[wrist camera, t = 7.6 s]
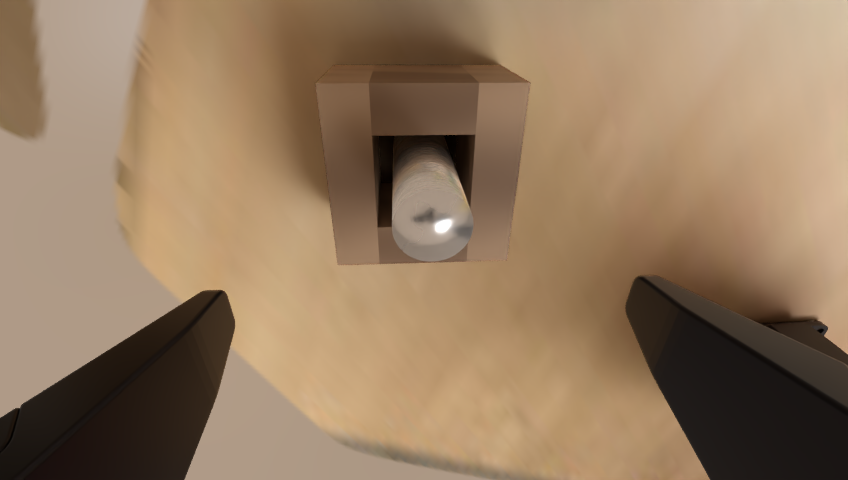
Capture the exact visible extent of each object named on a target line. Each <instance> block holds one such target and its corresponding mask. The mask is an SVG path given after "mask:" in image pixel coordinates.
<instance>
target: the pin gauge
mask: <svg viewBox="0 0 848 480" xmlns="http://www.w3.org/2000/svg"><path fill="white" fill-rule="evenodd" d="M472 232H473V216H472V213H471V210H470V207H469V205H468V202H467V199H466V196H465V194H464V191H463V188H462V185H461V183H460V180H459V177H458V174H457V171H456V169H455V166H454V163H453V160H452V158H451V155H450V152H449V149H448V147H447V144H446V141H445V138H444V135H395V137H394V142H393V193H392V233H393V237H394V240H395V242H396V244H397V245H398V247H399V248H400V249H401V250H402V251H403V252H404V253H406V254H407V255H408V256H410V257H412V258H415V259H417V260H421V261H428V262H434V261H441V260H445V259H448V258H450V257H452V256H454V255H456V254H457V253H458V252H460V251H461V250H462V249H463V248H464V247H465V246H466V244H467V243H468V241H469V240H470V238H471V235H472Z"/></svg>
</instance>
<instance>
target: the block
mask: <svg viewBox="0 0 848 480" xmlns="http://www.w3.org/2000/svg"><path fill="white" fill-rule="evenodd" d="M315 85H316V94H317V102H318V110H319V118H320V126H321V134H322V142H323V150H324V158H325V166H326V174H327V182H328V191H329V199H330V207H331V215H332V223H333V231H334V239H335V247H336V255H337V263H338V265H360V264H395V263H431V262H428V261H421V260H417V259H415V258H412V257H410V256H408V255H407V254H406V253H404V252H403V251H402V250H401V249H400V248H399V247H398V245H397V244H396V242H395V240H394V237H393V233H392V193H393V183H381V173H380V153H379V136H388V135H457V145H456V166H455V169H456V171H457V174H458V177H459V180H460V183H461V185H462V188H463V191H464V194H465V196H466V199H467V202H468V205H469V207H470V210H471V213H472V216H473V232H472V235H471V238H470V240H469V241H468V243H467V244H466V246H465V247H464V248H463V249H462V250H461V251H460V252H458V253H457V254H456V255H454V256H452V257H450V258H448V259H445V260H441V261H434V262H466V261H501V260H507V256H508V249H509V241H510V233H511V226H512V218H513V211H514V203H515V196H516V188H517V180H518V173H519V165H520V158H521V150H522V143H523V135H524V128H525V120H526V112H527V105H528V97H529V90H530V82H528V81H527V80H525V79H523V78H522V77H520V76H518V75H517V74H515V73H513V72H511V71H510V70H508V69H506V68H505V67H503V66H501V65H333V66H332V67H331V68H330V69H329V70H328V71H327V72H326V73H325V74H324V75H323V76H322V77H321V78H320V79H319V80H318V81H317V82H316V83H315Z"/></svg>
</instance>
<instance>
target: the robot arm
mask: <svg viewBox="0 0 848 480" xmlns="http://www.w3.org/2000/svg"><path fill="white" fill-rule="evenodd" d="M626 314H627V317H628V319H629V322H630V324H631V326H632V329H633V331H634V334H635V336H636V338H637V341H638V343H639V345H640V348H641V350H642V352H643V355H644V357H645V360H646V362H647V364H648V366H649V369H650V371H651V373H652V375H653V377H654V379H655V381H656V383H657V384H658V386H659V388H660V390H661V392H662V393H663V395H664V397H665V399H666V401H667V403H668V404H669V406H670V408H671V410H672V412H673V413H674V415H675V417H676V419H677V421H678V422H679V424H680V426H681V428H682V430H683V431H684V433H685V435H686V437H687V439H688V440H689V442H690V444H691V446H692V448H693V449H694V451H695V453H696V455H697V457H698V459H699V460H700V462H701V464H702V466H703V468H704V469H705V471H706V473H707V475H708V477H709V478H710V480H848V354H846V353H845V352H844V351H842V350H841V349H840V348H839V347H837V346H836V345H835V344H833V343H832V342H831V341H830V340H828V339H827V338H826V337H824V335H825V333H826V332H827V330H828V327H827V326H826V325H824V324H823V323H822V322H820V321H810V322H784V323H757V322H755V321H753V320H751V319H749V318H746V317H744V316H742V315H740V314H738V313H736V312H734V311H731V310H729V309H727V308H725V307H723V306H721V305H719V304H717V303H714V302H712V301H710V300H708V299H706V298H704V297H702V296H700V295H697V294H695V293H693V292H691V291H689V290H687V289H685V288H682V287H680V286H678V285H676V284H674V283H672V282H670V281H668V280H665V279H663V278H661V277H659V276H656V275H643V276H638V277H636V278H635V279H634V281H633V284H632V287H631V290H630V293H629V296H628V299H627V302H626ZM234 330H235V319H234V316H233V312H232V309H231V306H230V303H229V300H228V296H227V294H226V293H225V292H224V291H223V290H205V291H202V292H200V293H199V294H197V295H195V296H194V297H192V298H191V299H189V300H187V301H186V302H184V303H183V304H181V305H180V306H178V307H176V308H175V309H173V310H172V311H170V312H168V313H167V314H165V315H164V316H162V317H160V318H159V319H157V320H156V321H154V322H152V323H151V324H149V325H148V326H146V327H144V328H143V329H141V330H140V331H138V332H136V333H135V334H133V335H132V336H130V337H129V338H127V339H125V340H124V341H122V342H121V343H119V344H117V345H116V346H114V347H113V348H111V349H110V350H108V351H106V352H105V353H103V354H101V355H100V356H98V357H97V358H95V359H94V360H92V361H90V362H89V363H87V364H85V365H84V366H82V367H81V368H79V369H78V370H76V371H74V372H73V373H71V374H70V375H68V376H66V377H65V378H63V379H62V380H60V381H58V382H57V383H55V384H54V385H52V386H50V387H49V388H47V389H46V390H44V391H43V392H41V393H39V394H38V395H36V396H35V397H33V398H31V399H30V400H28V401H27V402H25V403H23V404H22V405H21V407H20V408H15V409H14V410H12V411H10V412H9V413H7V414H6V415H4V416H3V417H1V418H0V480H184V479H185V477H186V474H187V472H188V469H189V466H190V464H191V461H192V459H193V456H194V454H195V451H196V448H197V446H198V443H199V441H200V438H201V436H202V433H203V431H204V428H205V425H206V423H207V420H208V418H209V415H210V413H211V410H212V408H213V405H214V402H215V399H216V397H217V394H218V390H219V387H220V383H221V379H222V376H223V372H224V368H225V364H226V361H227V357H228V353H229V349H230V345H231V342H232V338H233V334H234Z"/></svg>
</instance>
